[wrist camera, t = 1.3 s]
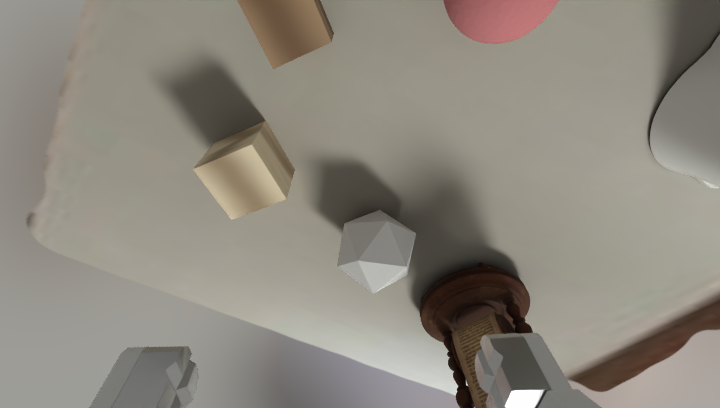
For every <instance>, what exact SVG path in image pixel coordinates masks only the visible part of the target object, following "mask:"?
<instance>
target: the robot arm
mask: <svg viewBox="0 0 720 408" xmlns="http://www.w3.org/2000/svg"><path fill="white" fill-rule="evenodd" d="M650 146H651V150H652V153H653V155H654V157H655V159H656V160H657V161H658V162H659V163H660V164H661V165H662V166H663V167H665V168H667V169H669V170H672V171H675V172H679V173H682V174H686V175H689V176H692V177H695V178H696V179H697V180H698V181H699V182H700V183H702V184H704V185H706V186H708V187H711V188H720V34H719V36H718V37H717V39H716V40H715V42H714V43H713V45H712V46H711V48H710V49H709V50H708V51H707V52H706V53H705V54H704V55H703V56H702V57H701V58H700V59H699V60H698V61H697V62H696V63H694V64H693V65H692V66H691V67H690V68H689V69H688V70H687V71H686V72H685V73H684V74H683V75H682V76H681V77H680V78H679V79H678V80H677V81H676V83H675V84H674V85H673V86H672V88H671V89H670V90H669V91H668V93H667V94H666V96H665V97H664V99H663V101H662V102H661V104H660V106H659V108H658V110H657V112H656V114H655V117H654V119H653V122H652V126H651V131H650ZM480 344H481V347H482V349H481V350H479V351H478V352H477V354H476V358H475V371H476V376H477V379H478V382H479V385H480V387H481V388H482V389H483V390H484V391H485V392H486V393H487V394H488V397H487V401H486V405H487V408H601V407H600V406H599V405H597V404H596V403H595V402H594V401H592V400H591V399H590V398H588V397H587V396H586V395H585V394H583V393H582V392H581V391H579V390H578V389H572V388H571V386H570V384H569V383H568V381H567V379H566V377H565V376H564V374H563V372H562V371H561V369H560V367H559V366H558V364H557V362H556V360H555V359H554V357H553V355H552V354H551V352H550V350H549V349H548V347H547V345H546V343H545V342H544V340H543V338H542V337H541V336H540V335H539V334H538V333H521V334H518V333H509V334H491V335H484V336H483V337H482V338H481V341H480ZM190 357H191V351H190V349H189V347H188V346H178V347H133V348H127V349H126V350H125V351H124V352H122V353H121V355H120V356H119V358H118V360H117V361H116V363H115V365H114V367H113V368H112V370H111V372H110V373H109V375H108V377H107V378H106V380H105V382H104V383H103V385H102V387H101V388H100V390H99V392H98V394H97V395H96V397H95V399H94V400H93V402H92V404H91V405H90V407H89V408H185V407H186V406H187V405H188V404H189V403H190V402H191V401H192V400H193V399H194V396H195V393H196V390H197V383H198V368H197V366H196V364H195V363H194V362H192V361H191V360H189V359H190Z"/></svg>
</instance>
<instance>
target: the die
mask: <svg viewBox="0 0 720 408" xmlns="http://www.w3.org/2000/svg"><path fill="white" fill-rule="evenodd" d="M415 236H416V233H415V232H413V231H411V230H410V229H408V228H407V227H405V226H404V225H402V224H401V223H399V222H398V221H396V220H395V219H393V218H392V217H390V216H389V215H387V214H386V213H384V212H383V211H381V210H378V211H375V212H373V213H370V214H367V215H365V216H362V217H360V218H357V219H354V220H352V221H349V222H347V223H344V228H343V234H342V240H341V246H340V252H339V258H338V264H337V267H339V268H340V269H341V270H343V271H344V272H345V273H346V274H348V275H349V276H350V277H352V278H353V279H354V280H356V281H357V282H358V283H360V284H361V285H362V286H364V287H365V288H366V289H368V290H369V291H370V292H372V293H373V294H374V293H375V292H377V291H379V290H381V289H383V288H385V287H386V286H388V285H390V284H392V283H394V282H395V281H397V280H399V279H401V278H403V277H405V276H406V275H407V274H408V269H409V264H410V260H411V255H412V250H413V246H414V241H415Z"/></svg>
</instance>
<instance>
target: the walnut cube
mask: <svg viewBox="0 0 720 408" xmlns="http://www.w3.org/2000/svg"><path fill="white" fill-rule="evenodd" d="M238 3H239V5H240V7H241V8H242V10H243V12H244V14H245V16H246V18H247V20H248V22H249V24H250V26H251V27H252V29H253V31H254V33H255V35H256V37H257V39H258V41H259V43H260V44H261V46H262V48H263V50H264V52H265V54H266V56H267V58H268V60H269V62H270V63H271V65H272V67H273V69H274V68H277V67H279V66H281V65H283V64H285V63H287V62H289V61H292V60H294V59H296V58H298V57H300V56H302V55H304V54H307V53H309V52H311V51H313V50H315V49H317V48H320V47H322V46H324V45H326V44H328V43H330V42H332V38H333V34H334V33H333V30H332V28H331V26H330V23H329V21H328V18H327V16H326V13H325V11H324V9H323V6H322V4H321V1H320V0H238Z"/></svg>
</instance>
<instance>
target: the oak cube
mask: <svg viewBox="0 0 720 408" xmlns="http://www.w3.org/2000/svg"><path fill="white" fill-rule="evenodd" d="M193 170H194V171H195V173H196V174H197V175H198V177H199V178H200V179H201V180H202V182H203V183H204V184H205V186H206V187H207V188H208V190H209V191H210V192H211V193H212V195H213V196H214V197H215V199H216V200H217V201H218V203H219V204H220V205H221V206H222V208H223V209H224V210H225V212H226V213H227V214H228V216H229V217H230V218H231V219H232V220H233V219H236V218H238V217H241V216H244V215H246V214H249V213H251V212H254V211H257V210H259V209H262V208H265V207H267V206H270V205H272V204H275V203H278V202H280V201H283V200H286V199H287V196H288V192H289V189H290V185H291V181H292V178H293V174H294V171H295V170H294V168H293V166H292V164H291V163H290V161H289V159H288V158H287V156H286V154H285V152H284V151H283V149H282V147H281V146H280V144H279V142H278V140H277V139H276V137H275V135H274V134H273V132H272V130H271V129H270V127H269V125H268V123H267V122H266V120H265V121H263V122H261V123H259V124H256V125H254V126H252V127H249V128H247V129H245V130H242V131H240V132H238V133H236V134H233V135H231V136H229V137H226V138H224V139H222V140H220V141H217V142H215V143H214V144H213V145H212V146H211V148H210V149H209V150H208V151H207V153H206V154H205V155H204V156H203V158H202V159H201V160H200V161H199V163H198V164H197V165H196V166H195V167H194V169H193Z"/></svg>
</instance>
